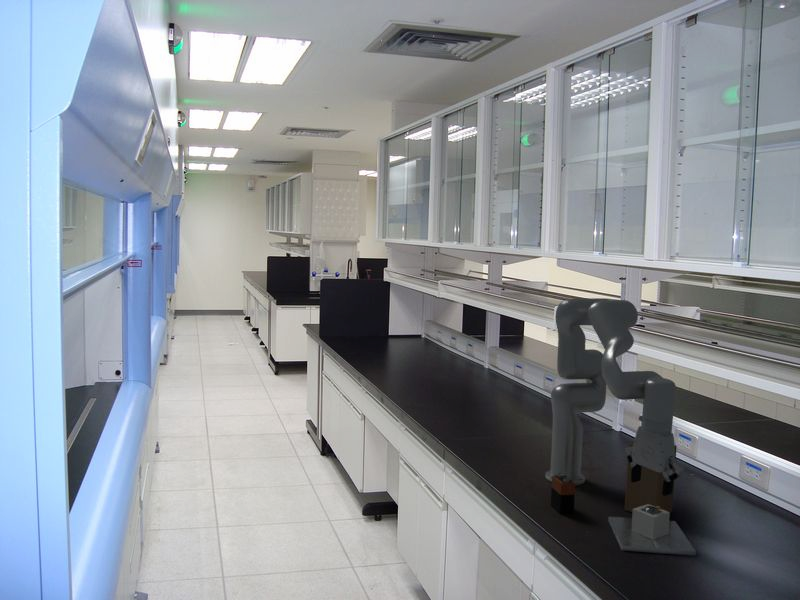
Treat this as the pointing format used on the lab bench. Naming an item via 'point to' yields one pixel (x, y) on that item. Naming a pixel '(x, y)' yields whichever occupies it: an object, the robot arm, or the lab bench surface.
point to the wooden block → (647, 489)
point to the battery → (562, 493)
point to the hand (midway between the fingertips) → (650, 487)
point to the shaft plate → (640, 543)
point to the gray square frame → (650, 522)
